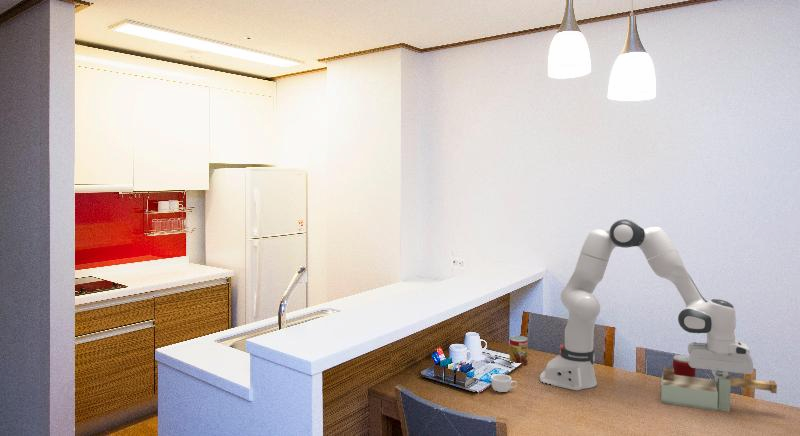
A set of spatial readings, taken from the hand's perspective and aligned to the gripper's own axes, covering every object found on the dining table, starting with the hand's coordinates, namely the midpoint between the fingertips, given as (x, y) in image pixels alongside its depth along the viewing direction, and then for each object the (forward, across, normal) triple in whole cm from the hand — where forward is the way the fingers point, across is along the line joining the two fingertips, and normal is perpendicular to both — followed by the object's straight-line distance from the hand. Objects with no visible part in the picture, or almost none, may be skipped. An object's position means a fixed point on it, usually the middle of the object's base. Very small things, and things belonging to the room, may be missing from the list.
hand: (719, 382), depth 197 cm
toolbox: (+9, -8, 0) cm, 12 cm away
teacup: (+9, -75, -16) cm, 78 cm away
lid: (+2, -10, 0) cm, 10 cm away
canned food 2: (+9, -10, +18) cm, 22 cm away
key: (+1, +9, 0) cm, 9 cm away
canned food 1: (+9, -76, +16) cm, 78 cm away
